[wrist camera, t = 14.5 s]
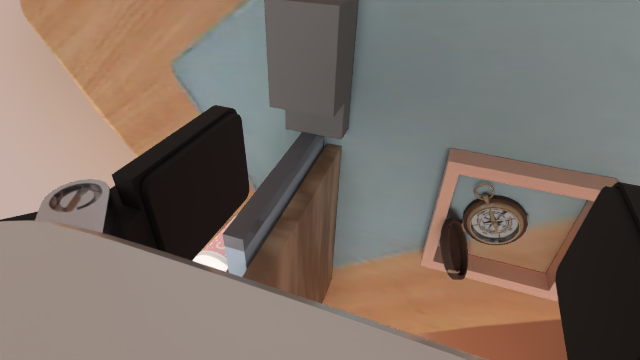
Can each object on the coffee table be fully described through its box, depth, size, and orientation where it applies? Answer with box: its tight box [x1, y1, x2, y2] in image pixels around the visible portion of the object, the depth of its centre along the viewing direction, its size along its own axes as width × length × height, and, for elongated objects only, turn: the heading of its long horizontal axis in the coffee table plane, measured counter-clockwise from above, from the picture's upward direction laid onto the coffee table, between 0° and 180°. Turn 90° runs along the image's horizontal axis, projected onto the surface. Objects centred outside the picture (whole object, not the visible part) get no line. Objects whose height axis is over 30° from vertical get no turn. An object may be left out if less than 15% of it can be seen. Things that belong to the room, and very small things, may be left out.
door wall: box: [226, 144, 341, 304], centre depth 39 cm, size 6×22×23 cm, turn 178°
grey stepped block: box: [264, 0, 359, 139], centre depth 34 cm, size 6×13×6 cm, turn 178°
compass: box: [440, 185, 528, 280], centre depth 37 cm, size 8×8×7 cm
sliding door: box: [222, 132, 323, 277], centre depth 38 cm, size 2×16×18 cm, turn 177°
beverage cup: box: [193, 215, 237, 272], centre depth 48 cm, size 6×6×14 cm
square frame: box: [420, 148, 618, 301], centre depth 39 cm, size 14×14×2 cm
